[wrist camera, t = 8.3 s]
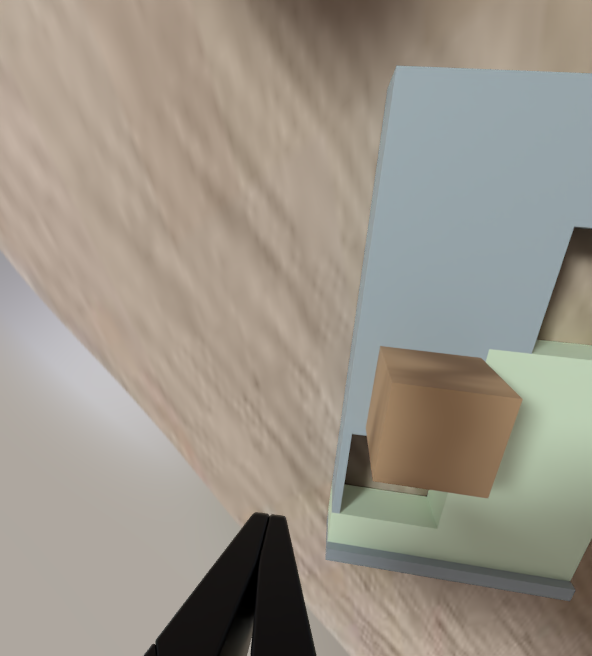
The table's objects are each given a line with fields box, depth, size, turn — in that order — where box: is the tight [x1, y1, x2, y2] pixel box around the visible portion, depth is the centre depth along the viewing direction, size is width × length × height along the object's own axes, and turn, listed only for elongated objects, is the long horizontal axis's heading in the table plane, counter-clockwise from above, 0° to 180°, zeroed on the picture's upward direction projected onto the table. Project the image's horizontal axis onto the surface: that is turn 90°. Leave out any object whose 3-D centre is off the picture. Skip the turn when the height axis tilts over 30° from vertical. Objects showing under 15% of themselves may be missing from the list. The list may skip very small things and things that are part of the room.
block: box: [366, 346, 523, 498], centre depth 16 cm, size 5×5×4 cm
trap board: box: [326, 66, 592, 601], centre depth 18 cm, size 15×27×3 cm, turn 176°
